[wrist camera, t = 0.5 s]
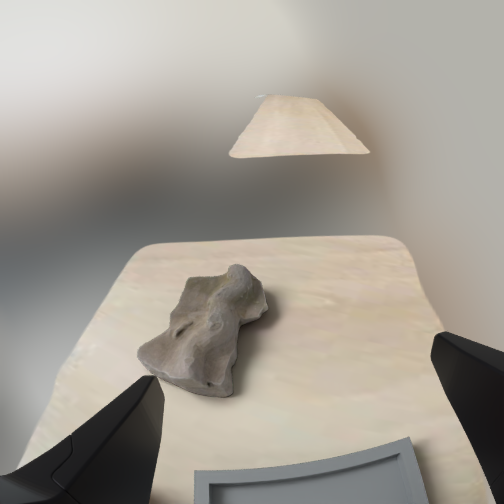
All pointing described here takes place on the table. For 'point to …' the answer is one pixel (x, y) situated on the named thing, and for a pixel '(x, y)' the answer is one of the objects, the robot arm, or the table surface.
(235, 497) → the parts tray
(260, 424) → the table surface
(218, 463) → the table surface
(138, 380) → the robot arm
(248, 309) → the stone
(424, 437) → the table surface
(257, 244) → the table surface
